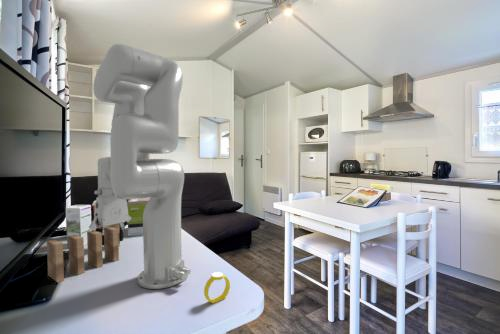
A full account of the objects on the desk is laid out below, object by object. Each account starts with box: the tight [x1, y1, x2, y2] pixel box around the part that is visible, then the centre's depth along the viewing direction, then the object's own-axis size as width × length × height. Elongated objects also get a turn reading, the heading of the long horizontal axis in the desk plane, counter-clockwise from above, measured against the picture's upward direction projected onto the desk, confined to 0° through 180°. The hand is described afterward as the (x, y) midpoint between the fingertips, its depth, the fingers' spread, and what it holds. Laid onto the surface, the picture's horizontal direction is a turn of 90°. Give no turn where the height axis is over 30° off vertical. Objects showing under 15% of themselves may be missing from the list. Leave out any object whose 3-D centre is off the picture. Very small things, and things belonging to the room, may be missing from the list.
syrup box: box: [65, 204, 92, 247], centre depth 93 cm, size 6×6×14 cm
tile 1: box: [103, 227, 120, 263], centre depth 79 cm, size 5×2×10 cm, turn 59°
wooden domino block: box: [46, 239, 65, 284], centre depth 66 cm, size 5×2×10 cm, turn 59°
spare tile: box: [103, 224, 121, 251], centre depth 89 cm, size 5×2×10 cm, turn 149°
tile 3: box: [67, 235, 86, 276], centre depth 70 cm, size 5×2×10 cm, turn 59°
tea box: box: [127, 197, 150, 237], centre depth 110 cm, size 15×10×15 cm
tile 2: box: [86, 230, 104, 269], centre depth 75 cm, size 5×2×10 cm, turn 59°
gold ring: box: [203, 271, 231, 304], centre depth 56 cm, size 6×3×6 cm, turn 128°
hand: (112, 242), depth 89 cm, fingers closed on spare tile, 4 cm apart
